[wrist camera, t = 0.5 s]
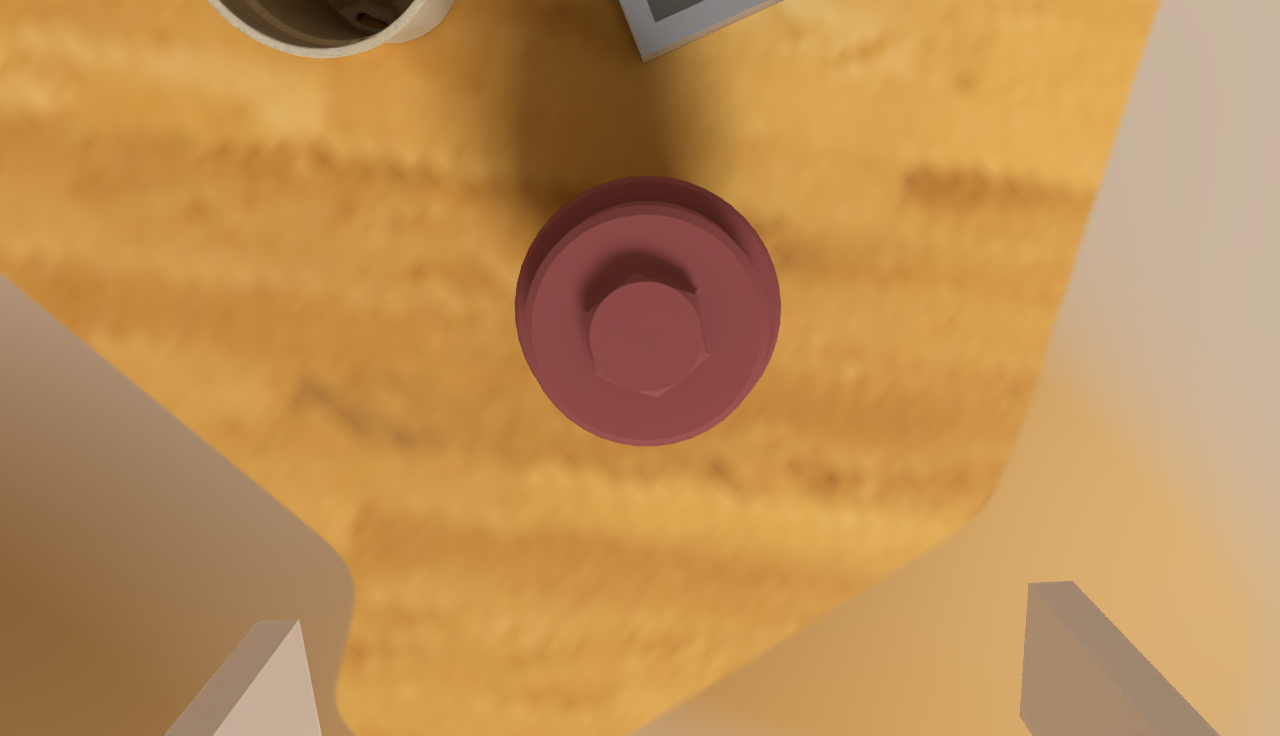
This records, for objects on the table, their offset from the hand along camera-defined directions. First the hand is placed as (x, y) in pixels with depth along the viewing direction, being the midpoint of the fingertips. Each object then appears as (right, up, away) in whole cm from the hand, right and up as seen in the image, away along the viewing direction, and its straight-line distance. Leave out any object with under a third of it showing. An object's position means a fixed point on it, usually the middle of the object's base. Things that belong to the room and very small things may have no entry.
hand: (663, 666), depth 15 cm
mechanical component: (0, +10, +24) cm, 26 cm away
